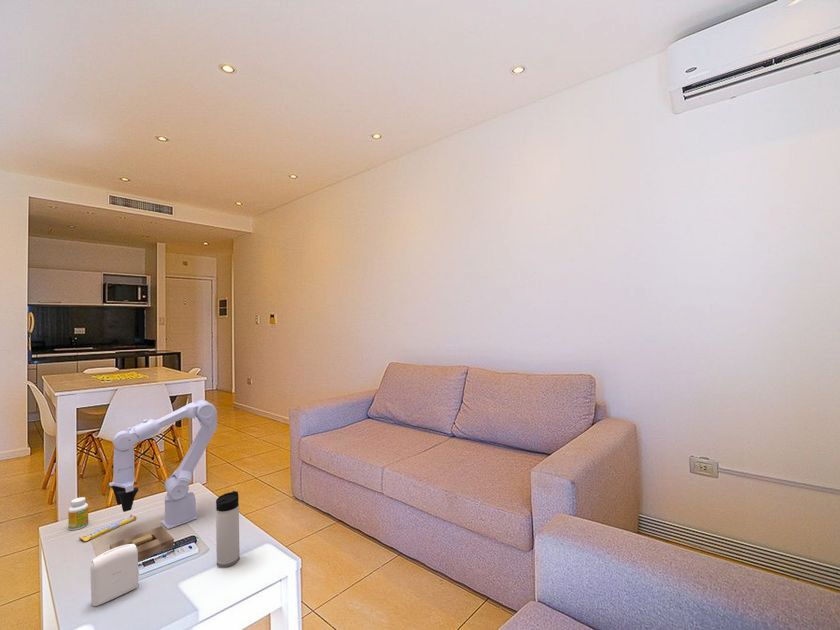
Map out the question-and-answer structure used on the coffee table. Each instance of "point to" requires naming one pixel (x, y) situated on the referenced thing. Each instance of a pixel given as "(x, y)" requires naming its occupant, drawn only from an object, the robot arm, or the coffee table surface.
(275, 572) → the coffee table surface
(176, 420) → the robot arm
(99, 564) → the photo printer
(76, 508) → the supplement bottle
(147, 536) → the tan flat rectangular block
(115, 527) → the candy bar
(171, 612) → the coffee table surface
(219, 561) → the travel mug
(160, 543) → the walnut coin box
